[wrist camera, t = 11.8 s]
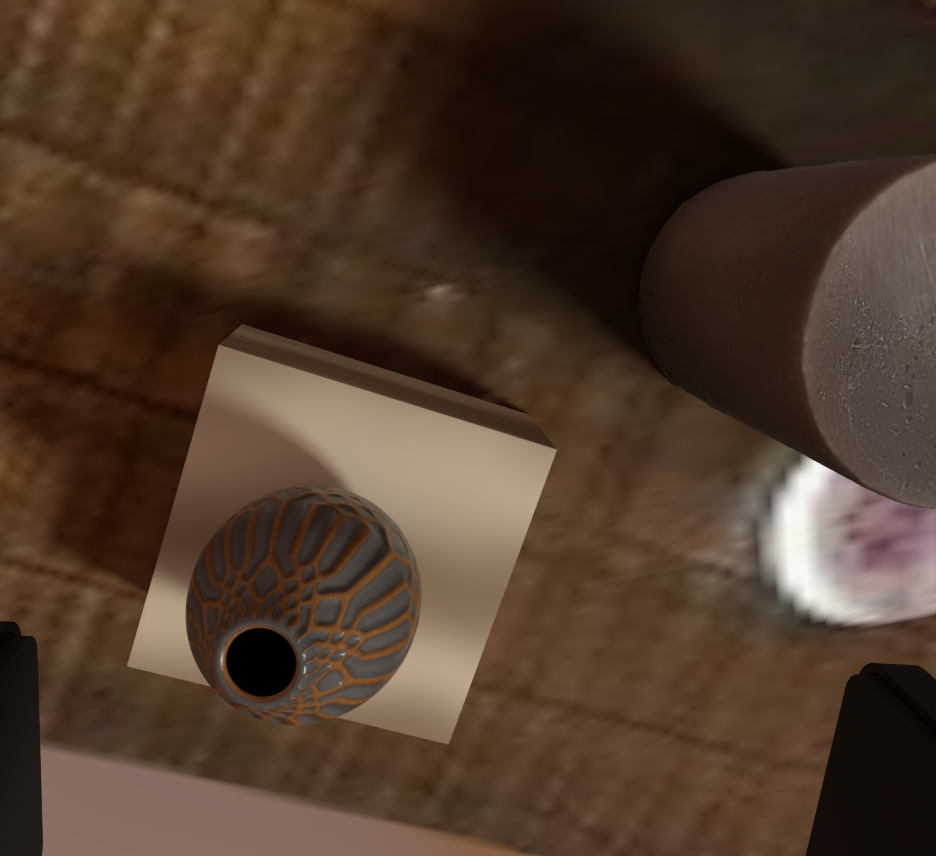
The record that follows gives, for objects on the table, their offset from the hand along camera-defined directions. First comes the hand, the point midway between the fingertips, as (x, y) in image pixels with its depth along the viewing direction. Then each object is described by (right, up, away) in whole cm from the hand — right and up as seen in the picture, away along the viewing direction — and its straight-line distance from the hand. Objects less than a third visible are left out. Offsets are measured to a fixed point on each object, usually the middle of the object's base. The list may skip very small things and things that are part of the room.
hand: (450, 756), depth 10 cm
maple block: (-5, +1, +27) cm, 27 cm away
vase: (-4, -1, +21) cm, 21 cm away
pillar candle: (+12, +9, +27) cm, 31 cm away
